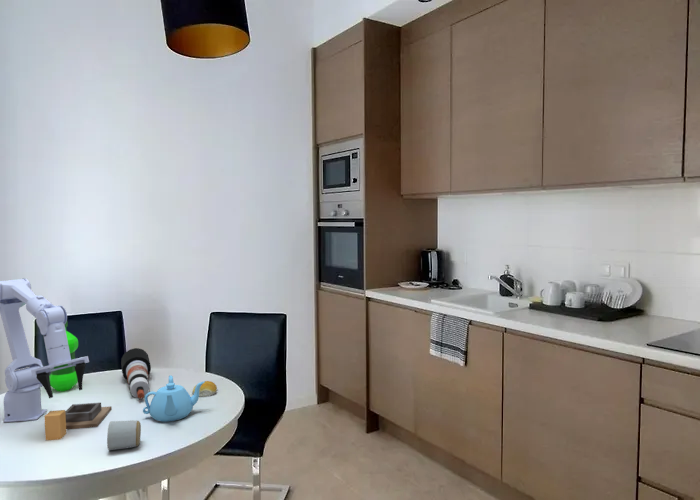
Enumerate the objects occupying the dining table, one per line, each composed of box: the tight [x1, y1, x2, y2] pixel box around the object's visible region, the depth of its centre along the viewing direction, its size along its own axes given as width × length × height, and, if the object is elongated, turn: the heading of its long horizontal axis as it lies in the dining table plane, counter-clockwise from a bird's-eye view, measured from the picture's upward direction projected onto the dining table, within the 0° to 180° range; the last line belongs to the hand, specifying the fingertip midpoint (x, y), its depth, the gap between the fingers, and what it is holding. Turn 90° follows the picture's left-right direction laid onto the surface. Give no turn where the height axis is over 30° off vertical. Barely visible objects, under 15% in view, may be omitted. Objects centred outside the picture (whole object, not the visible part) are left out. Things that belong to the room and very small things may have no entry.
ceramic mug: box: [106, 420, 142, 451], centre depth 137 cm, size 10×8×7 cm
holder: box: [65, 402, 112, 430], centre depth 156 cm, size 13×14×4 cm
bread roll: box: [192, 380, 218, 398], centre depth 178 cm, size 8×9×4 cm
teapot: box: [142, 375, 206, 423], centre depth 158 cm, size 15×15×10 cm
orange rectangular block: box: [43, 409, 67, 441], centre depth 143 cm, size 4×4×7 cm
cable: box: [120, 347, 152, 400], centre depth 184 cm, size 10×34×10 cm, turn 26°
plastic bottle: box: [49, 320, 79, 392], centre depth 184 cm, size 10×10×25 cm
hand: (66, 393), depth 145 cm, fingers open, 7 cm apart
